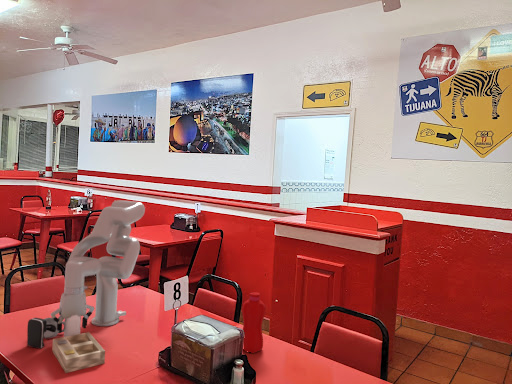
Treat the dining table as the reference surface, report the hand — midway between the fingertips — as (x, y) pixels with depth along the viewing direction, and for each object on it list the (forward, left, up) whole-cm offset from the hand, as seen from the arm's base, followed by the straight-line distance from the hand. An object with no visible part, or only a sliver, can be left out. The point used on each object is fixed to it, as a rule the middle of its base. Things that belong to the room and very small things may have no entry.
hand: (72, 329), depth 173 cm
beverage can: (0, 0, -5) cm, 5 cm away
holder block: (+2, +16, -5) cm, 17 cm away
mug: (+5, -10, -5) cm, 12 cm away
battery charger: (+13, -2, -5) cm, 14 cm away
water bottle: (-62, +44, -5) cm, 76 cm away
